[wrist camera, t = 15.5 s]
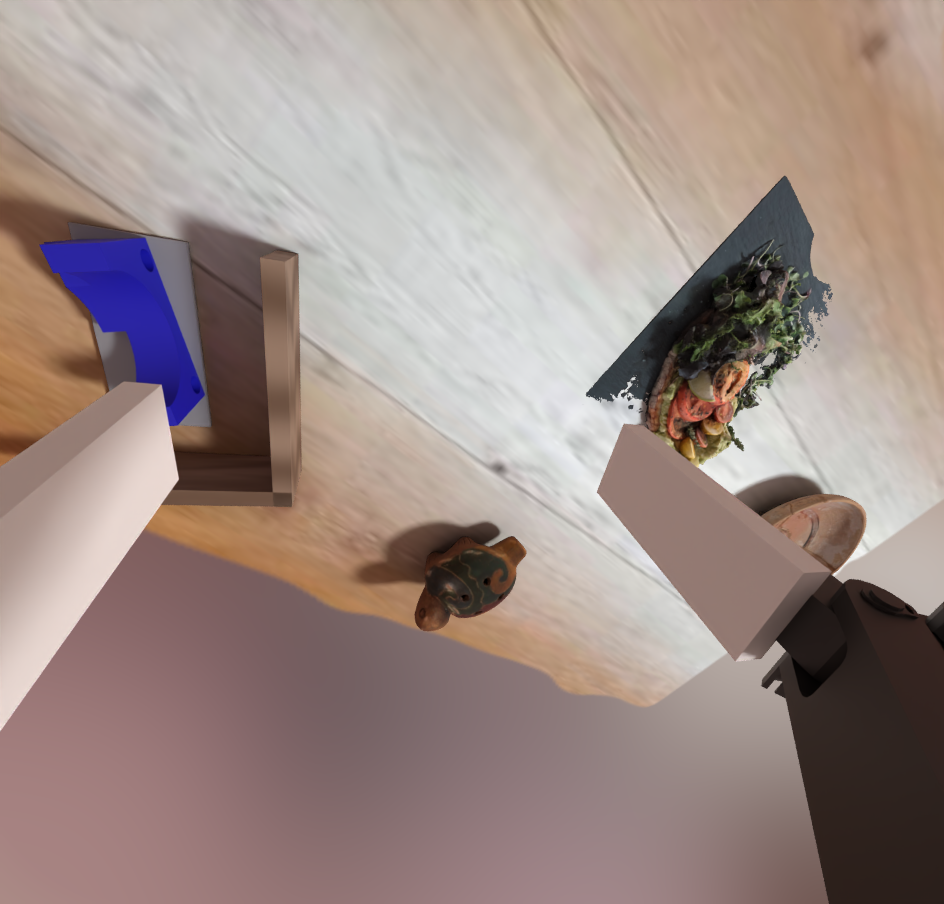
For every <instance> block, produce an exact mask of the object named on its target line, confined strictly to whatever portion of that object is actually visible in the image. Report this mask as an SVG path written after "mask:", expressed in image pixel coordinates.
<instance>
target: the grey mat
mask: <svg viewBox="0 0 944 904" xmlns="http://www.w3.org/2000/svg"><path fill="white" fill-rule="evenodd" d="M68 226H69V230H70V234H71V238H72V240H84V239H118V238H146V240H147V243H148V246H149V248H150V251H151V253H152V256H153V259H154V261H155V264H156V267H157V269H158V272H159V275H160V277H161V280H162V282H163V285H164V288H165V290H166V293H167V296H168V298H169V301H170V303H171V306H172V309H173V311H174V314H175V317H176V319H177V322H178V324H179V327H180V330H181V332H182V335H183V338H184V340H185V343H186V345H187V348H188V351H189V353H190V356H191V359H192V361H193V364H194V367H195V369H196V372H197V374H198V377H199V380H200V382H201V385H202V388H203V390H204V393H205V396H204V397H203V398H202V399H201V400H200V401H199V402H198V403H197V405H196V406H195V407H194V408H193V409H192V410H191V411H190V412H189V413H188V415H187V416H186V417H185V418H184V419H183V420H182V421H181V422H180V424H179V425H184V426H200V427H211V426H212V421H211V413H210V406H209V398H208V390H207V382H206V374H205V367H204V359H203V351H202V343H201V335H200V328H199V320H198V312H197V304H196V297H195V289H194V281H193V273H192V265H191V258H190V250H189V242H185V241H179V240H173V239H167V238H161V237H155V236H149V235H143V234H138V233H132V232H126V231H120V230H114V229H108V228H102V227H96V226H90V225H85V224H79V223H73V222H68ZM90 314H91V318H92V322H93V327H94V331H95V335H96V339H97V343H98V347H99V351H100V355H101V359H102V363H103V367H104V371H105V375H106V379H107V383H108V387H109V391H111V390H112V389H114V388H115V387H117V386H118V385H119V384H121V383H122V382H136V365H135V358H134V354H133V350H132V346H131V343H130V340H129V338H128V335H127V333H126V331H121V332H106V333H103V332H102V330H101V328H100V326H99V324H98V323H97V321H96V319H95V318H94V316H93V315H92V313H91V312H90Z"/></svg>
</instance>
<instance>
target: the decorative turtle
mask: <svg viewBox="0 0 944 904" xmlns="http://www.w3.org/2000/svg"><path fill="white" fill-rule="evenodd" d="M525 556H526V550H525V548H524V547H523V546H522V545H521V543H520V542H519V541H518V540H517V539H516V538H515V537H513V536H511V537H508V538H506V539H504V540H502V541H500V542H498V543H496V544H495V545H493V546H490V547H488V546H485V545H481V544H477V543H475V542H474V541H473V540H472V539H471V538H469V537H462V538H460V539H459V540H458V541H457V542H456V543H455V544H454V545H453V546H452V547H451V548H450V549H449V550H448V551H447V552H445V553H444V554H442V553H439V552H433V553H431V554H430V555H429V556H428V558H427V561H426V567H425V588H424V590H423V592H422V594H421V596H420V598H419V601H418V604H417V607H416V611H415V621H416V624H417V626H418V627H419V628H420V629H421V630H423V631H434V630H438V629H440V628H442V627H444V626H445V625H446V624H447V622H448V621H449V617H450V614H452V615H454V616H456V617H459V618H469V617H474V616H478V615H481V614H483V613H485V612H487V611H489V610H491V609H492V608H494V607H495V606H497V605H498V604H499V603H500V602H502V601H503V600H504V599H505V598H506V597H507V596H508V594H509V593H510V592H511V590H512V588H513V586H514V584H515V580H516V567H517V565H518V564H519V562H520V561H521V560H522V559H523V558H524V557H525Z"/></svg>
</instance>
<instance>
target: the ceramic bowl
mask: <svg viewBox="0 0 944 904" xmlns="http://www.w3.org/2000/svg"><path fill="white" fill-rule="evenodd" d="M761 517H762V518H763V519H764V520H766V521H767V522H768V523H770V524H771V525H772V526H774V527H775V528H776V529H777V530H779V531H780V532H781V533H783V534H784V535H785V536H786V537H788V538H789V539H790V540H792V541H793V542H794V543H795V544H797V545H798V546H799V547H801V548H802V549H803V550H804V551H806V552H807V553H808V554H810V555H811V556H812V557H814V558H815V559H816V560H817V561H819V562H820V563H821V564H823V565H824V566H825V567H826V568H828V569H829V570H830V571H832V572H831V573H830V574H831V575H833V574H834V573H835V572H836V571H837V570H839V569H840V568H841V567H842V565H843V564H844V563H845V562H846V561H847V560H848V559H849V557H850V556H851V555H852V554H853V552H854V551H855V549H856V548H857V546H858V544H859V543H860V541H861V539H862V536H863V534H864V531H865V528H866V513H865V510H864V509H863V507H862V506H861V505H860V504H858V503H857V502H855V501H853V500H851V499H849V498H847V497H844V496H840V495H832V494H817V495H810V496H805V497H802V498H798V499H795V500H792V501H789V502H787V503H784V504H782V505H779V506H777V507H775V508H773V509H771V510H770V511H768V512H766V513H765V514H763V515H762V516H761Z"/></svg>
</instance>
